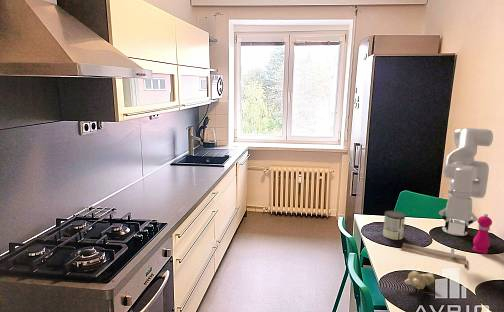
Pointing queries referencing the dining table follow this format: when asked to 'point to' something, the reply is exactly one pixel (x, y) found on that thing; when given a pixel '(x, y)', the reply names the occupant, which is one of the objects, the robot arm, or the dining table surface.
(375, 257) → the dining table surface
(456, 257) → the grey brown bent bar
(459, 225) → the white block
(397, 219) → the coffee can
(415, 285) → the beige lumpy piece
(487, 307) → the dining table surface
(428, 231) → the dining table surface
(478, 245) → the pepper mill
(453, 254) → the shaft
